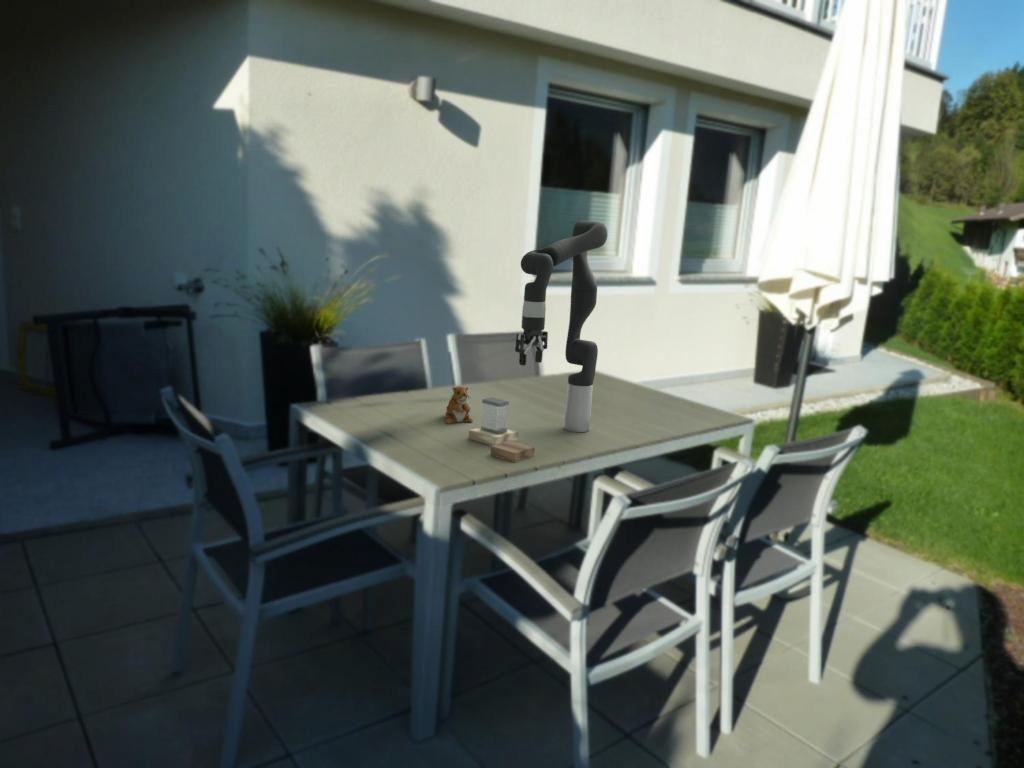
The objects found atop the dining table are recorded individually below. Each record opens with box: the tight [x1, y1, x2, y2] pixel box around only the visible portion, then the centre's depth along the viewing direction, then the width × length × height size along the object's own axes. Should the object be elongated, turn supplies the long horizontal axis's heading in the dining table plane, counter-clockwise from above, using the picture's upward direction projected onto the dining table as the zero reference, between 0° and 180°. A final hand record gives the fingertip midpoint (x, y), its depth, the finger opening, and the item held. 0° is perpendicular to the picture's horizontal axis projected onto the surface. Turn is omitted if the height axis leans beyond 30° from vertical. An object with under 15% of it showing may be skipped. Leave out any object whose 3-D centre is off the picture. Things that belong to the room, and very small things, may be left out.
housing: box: [480, 396, 510, 435], centre depth 259 cm, size 5×8×11 cm, turn 51°
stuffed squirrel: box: [444, 386, 474, 425], centre depth 282 cm, size 10×14×13 cm
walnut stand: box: [490, 440, 536, 463], centre depth 244 cm, size 10×10×3 cm
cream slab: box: [468, 426, 519, 446], centre depth 261 cm, size 12×12×3 cm
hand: (530, 363), depth 250 cm, fingers open, 8 cm apart
